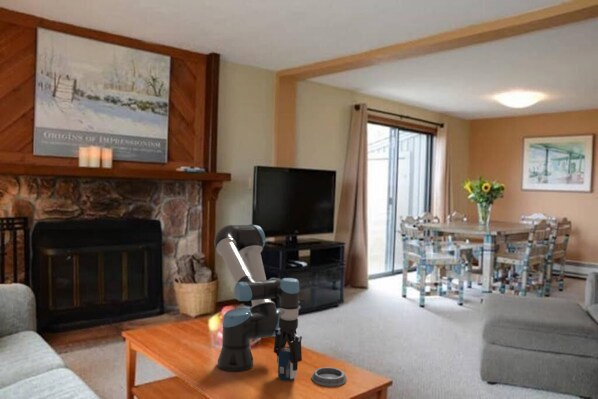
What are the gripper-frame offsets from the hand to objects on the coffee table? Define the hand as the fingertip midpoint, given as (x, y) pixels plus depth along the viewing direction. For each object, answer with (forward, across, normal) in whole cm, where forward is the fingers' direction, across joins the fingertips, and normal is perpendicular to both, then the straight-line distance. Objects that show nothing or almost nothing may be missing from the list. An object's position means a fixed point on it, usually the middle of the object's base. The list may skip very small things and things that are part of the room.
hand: (286, 374), depth 191 cm
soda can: (+2, 0, 0) cm, 2 cm away
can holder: (+2, +11, +13) cm, 17 cm away
